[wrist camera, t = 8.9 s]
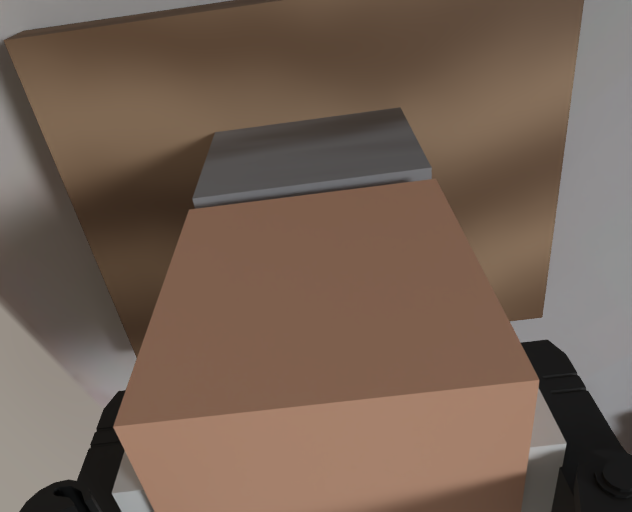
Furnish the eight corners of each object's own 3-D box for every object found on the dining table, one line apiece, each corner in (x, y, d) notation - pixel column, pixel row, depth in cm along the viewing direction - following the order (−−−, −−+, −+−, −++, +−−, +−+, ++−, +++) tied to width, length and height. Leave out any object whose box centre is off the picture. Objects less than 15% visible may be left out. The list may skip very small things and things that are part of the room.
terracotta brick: (189, 209, 14) (113, 427, 8) (436, 178, 14) (539, 380, 8) (238, 383, 18) (209, 624, 12) (436, 361, 17) (509, 595, 11)
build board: (23, 30, 18) (-92, 86, 13) (568, -48, 17) (693, -25, 12) (147, 342, 26) (107, 460, 20) (529, 296, 25) (595, 406, 20)
